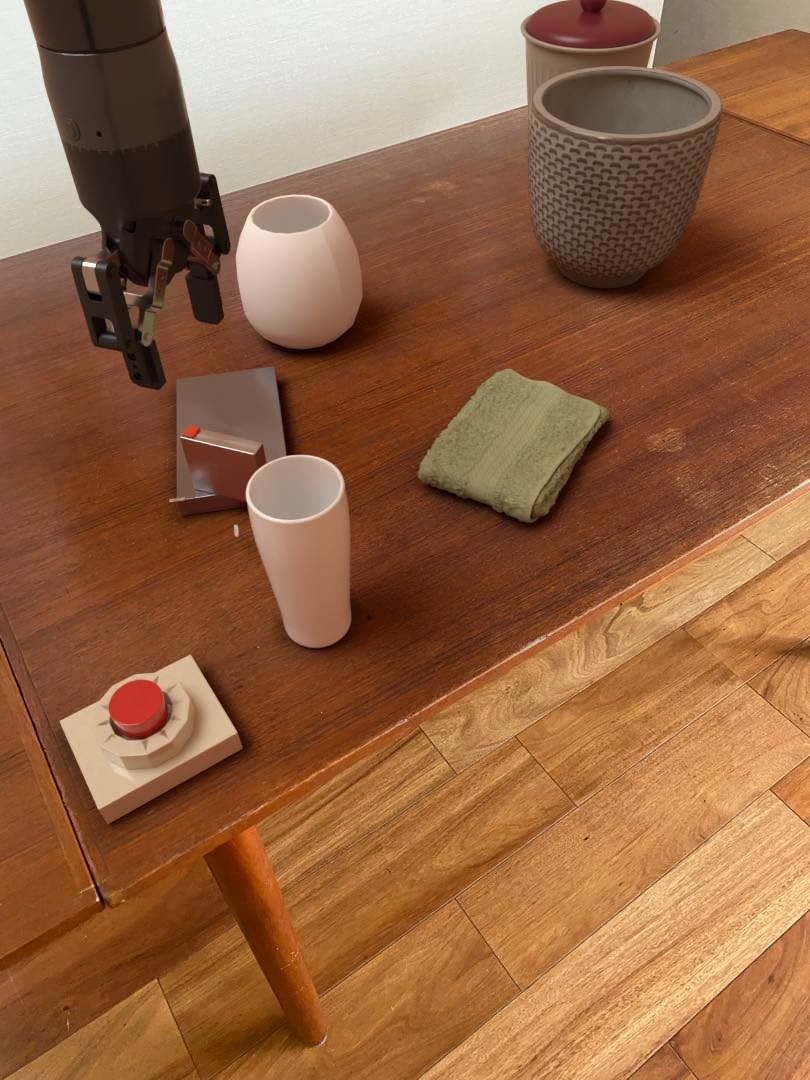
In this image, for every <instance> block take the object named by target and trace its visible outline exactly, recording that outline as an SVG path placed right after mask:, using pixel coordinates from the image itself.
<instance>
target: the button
mask: <svg viewBox="0 0 810 1080" xmlns="http://www.w3.org/2000/svg"><path fill="white" fill-rule="evenodd" d="M109 714H110V716H111V718H112V720H113V722H114V724H115V726H116V728H117V729H118V731H119V732H120V733H121V734H122V735H124V736H125V737H128V738H132V739H140V738H145V737H148V736H150V735H153V734H154V733H156V732H157V731H158V730H159V729H161V727H162V726H163V725H164V724H165V722H166V720H167V718H168V714H169V707H168V704H167V702H166V699H165V697H164V695H163V693H162V690H161V688H160V687H159V686H158V685H157V684H156V683H154V682H152V681H149V680H134V681H131V682H128V683H126V684H124V685H122V686H121V687H120V688H119V689H117V690H116V691H115V693H114V694H113V695H112V697H111V699H110V702H109Z"/></svg>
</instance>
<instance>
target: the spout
mask: <svg viewBox="0 0 810 1080" xmlns="http://www.w3.org/2000/svg"><path fill="white" fill-rule="evenodd" d="M180 440H181V443H182V446H183V450H184V453H185V457H186V460H187V464H188V467H189V470H190V474H191V477H192V481H193V484H194V488H195V489H198V490H202V491H206V492H210V493H214V494H218V495H222V496H226V497H230V498H234V499H238V500H242V501H246V502H247V500H246V488H247V484H248V482H249V480H250V478H251V477H252V476H253V474H254V473H255V472H256V471H257V470H258V469H260V468H261V467H262V466H264V465H265V464H267V462H266V457H265V452H264V447H263V443H261V442H257V441H252V440H248V439H244V438H239V437H235V436H231V435H226V434H222V433H218V432H213V431H209V430H205V429H200V427H196V426H192V425H189V426H188V427H187V429H186V430H185V431H184V432H183V434H182V435H181V436H180Z"/></svg>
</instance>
